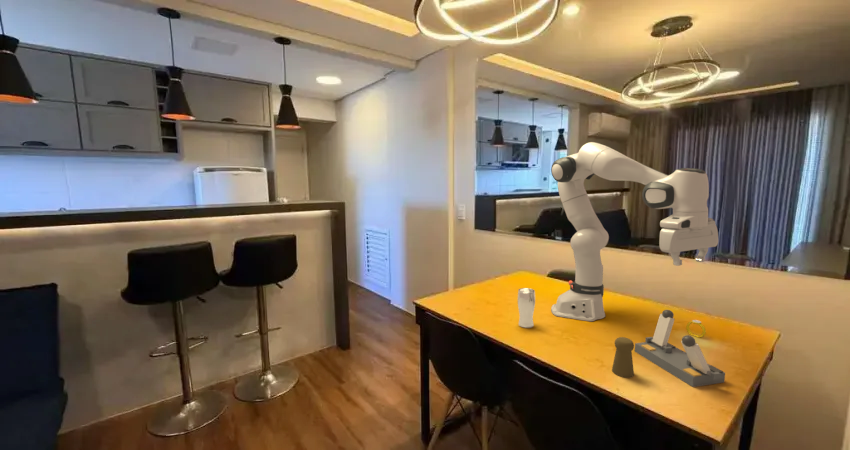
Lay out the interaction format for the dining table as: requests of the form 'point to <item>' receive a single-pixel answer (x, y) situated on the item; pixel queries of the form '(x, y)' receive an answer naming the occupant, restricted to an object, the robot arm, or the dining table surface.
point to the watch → (698, 324)
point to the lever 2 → (695, 354)
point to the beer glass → (526, 307)
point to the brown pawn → (623, 358)
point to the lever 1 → (663, 329)
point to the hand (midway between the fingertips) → (689, 263)
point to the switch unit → (678, 364)
